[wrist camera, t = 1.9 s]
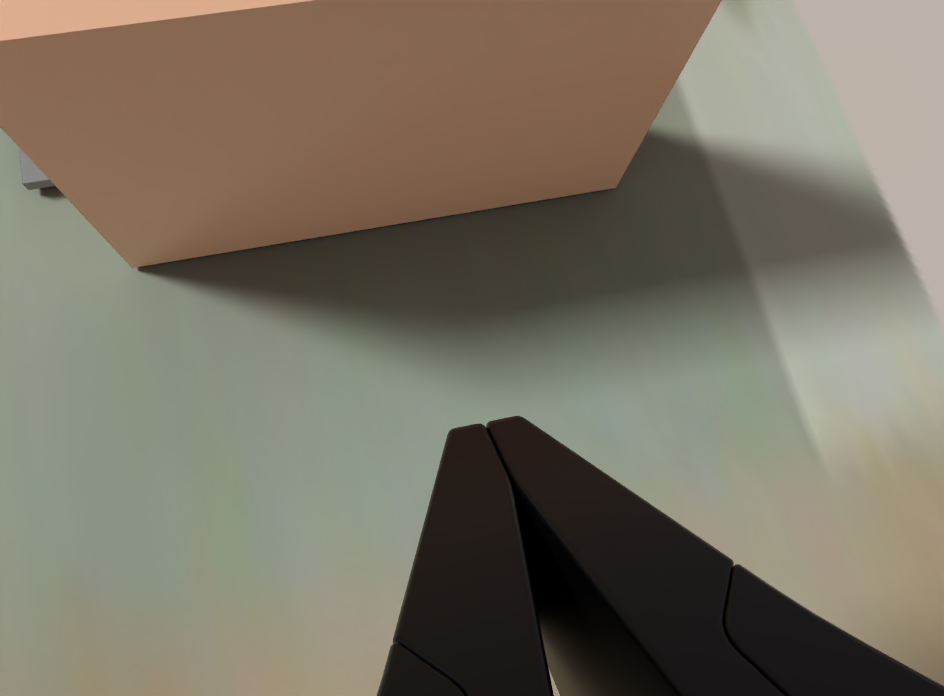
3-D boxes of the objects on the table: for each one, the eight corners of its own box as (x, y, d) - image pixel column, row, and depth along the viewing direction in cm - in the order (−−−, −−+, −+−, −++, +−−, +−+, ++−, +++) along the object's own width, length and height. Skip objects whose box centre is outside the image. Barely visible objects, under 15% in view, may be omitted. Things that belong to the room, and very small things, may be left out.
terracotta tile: (615, 187, 24) (753, -57, 15) (132, 267, 23) (-72, 50, 13) (595, 113, 25) (715, -169, 15) (122, 185, 23) (-80, -81, 14)
